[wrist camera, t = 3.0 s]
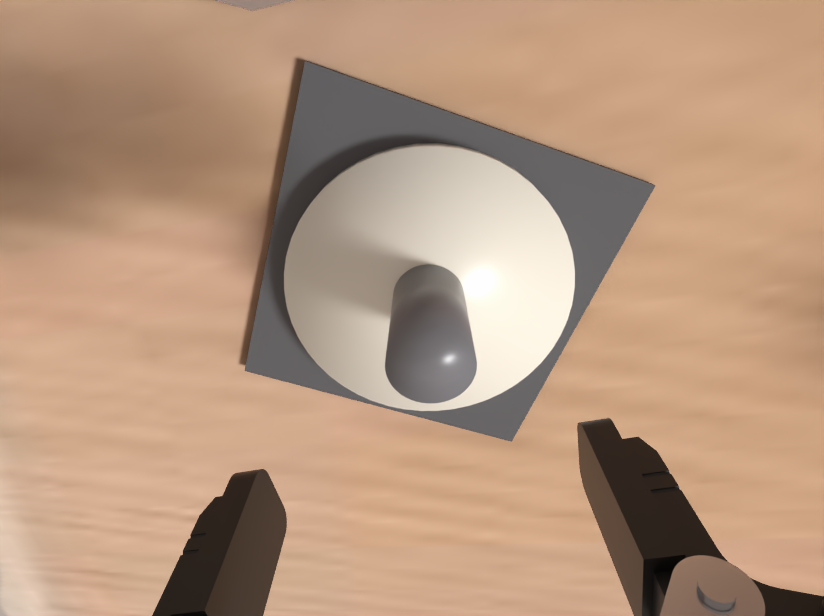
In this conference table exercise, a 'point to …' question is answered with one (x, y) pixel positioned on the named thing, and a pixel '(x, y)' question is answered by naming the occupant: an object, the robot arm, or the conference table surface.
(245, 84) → the conference table surface
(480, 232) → the lid
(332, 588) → the conference table surface
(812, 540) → the conference table surface
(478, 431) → the mat
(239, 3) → the bowl
